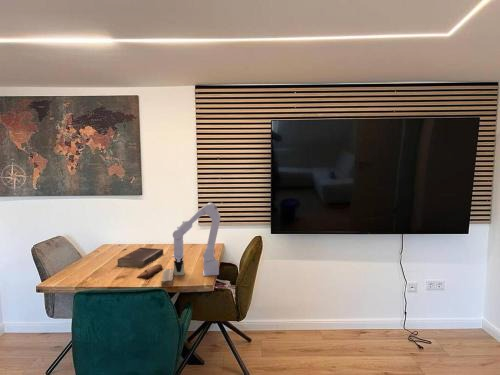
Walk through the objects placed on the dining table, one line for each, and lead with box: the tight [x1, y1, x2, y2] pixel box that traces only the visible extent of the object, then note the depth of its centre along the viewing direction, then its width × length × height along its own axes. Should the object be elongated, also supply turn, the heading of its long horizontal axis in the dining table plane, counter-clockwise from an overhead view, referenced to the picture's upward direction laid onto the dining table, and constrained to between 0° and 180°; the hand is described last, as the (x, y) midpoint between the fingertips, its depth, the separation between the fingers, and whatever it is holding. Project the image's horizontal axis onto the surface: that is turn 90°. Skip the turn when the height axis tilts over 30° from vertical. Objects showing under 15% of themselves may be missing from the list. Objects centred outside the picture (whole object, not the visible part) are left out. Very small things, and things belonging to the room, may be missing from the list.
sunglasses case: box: [136, 263, 163, 280], centre depth 190 cm, size 18×7×7 cm, turn 169°
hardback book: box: [117, 247, 164, 268], centre depth 217 cm, size 29×19×5 cm, turn 170°
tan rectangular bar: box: [160, 268, 174, 287], centre depth 181 cm, size 6×20×3 cm, turn 12°
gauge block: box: [173, 260, 185, 276], centre depth 189 cm, size 6×5×7 cm
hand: (179, 269), depth 189 cm, fingers open, 7 cm apart
